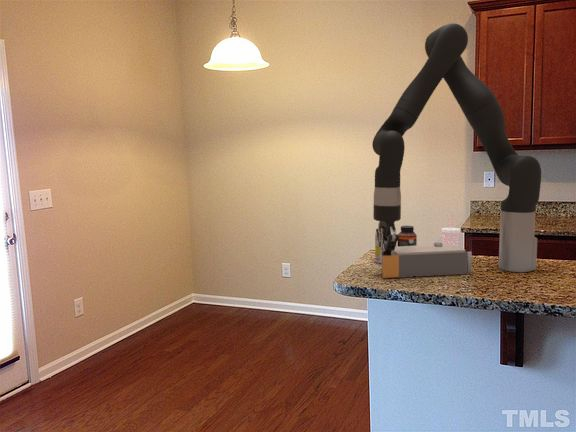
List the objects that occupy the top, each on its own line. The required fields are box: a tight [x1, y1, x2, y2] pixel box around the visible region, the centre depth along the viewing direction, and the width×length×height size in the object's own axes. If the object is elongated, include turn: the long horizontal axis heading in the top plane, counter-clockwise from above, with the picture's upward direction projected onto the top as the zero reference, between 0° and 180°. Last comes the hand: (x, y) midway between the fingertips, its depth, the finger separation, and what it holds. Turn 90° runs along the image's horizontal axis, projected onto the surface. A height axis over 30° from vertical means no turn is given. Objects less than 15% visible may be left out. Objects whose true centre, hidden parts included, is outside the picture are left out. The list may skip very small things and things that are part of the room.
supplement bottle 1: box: [374, 221, 397, 264], centre depth 160 cm, size 7×7×13 cm
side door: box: [381, 251, 473, 279], centre depth 141 cm, size 26×1×6 cm, turn 97°
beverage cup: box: [440, 213, 461, 247], centre depth 168 cm, size 6×6×14 cm
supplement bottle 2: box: [397, 225, 418, 247], centre depth 161 cm, size 6×6×11 cm
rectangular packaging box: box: [391, 242, 466, 278], centre depth 147 cm, size 21×9×8 cm, turn 97°
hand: (386, 263), depth 143 cm, fingers closed
